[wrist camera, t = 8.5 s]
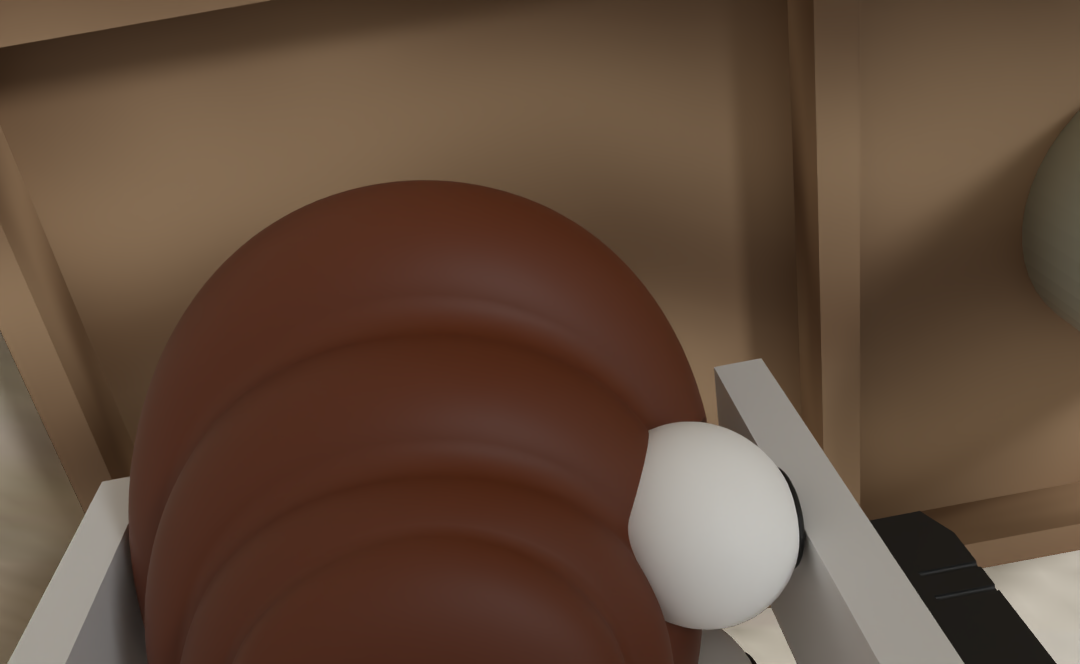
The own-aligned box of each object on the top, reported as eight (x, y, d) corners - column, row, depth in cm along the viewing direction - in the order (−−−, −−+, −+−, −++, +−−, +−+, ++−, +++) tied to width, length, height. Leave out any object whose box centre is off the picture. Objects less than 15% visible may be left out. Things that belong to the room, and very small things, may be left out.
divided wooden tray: (-84, -1, 17) (-145, 17, 15) (1644, -301, 18) (1781, -317, 16) (197, 654, 24) (178, 717, 22) (1416, 427, 25) (1493, 472, 23)
